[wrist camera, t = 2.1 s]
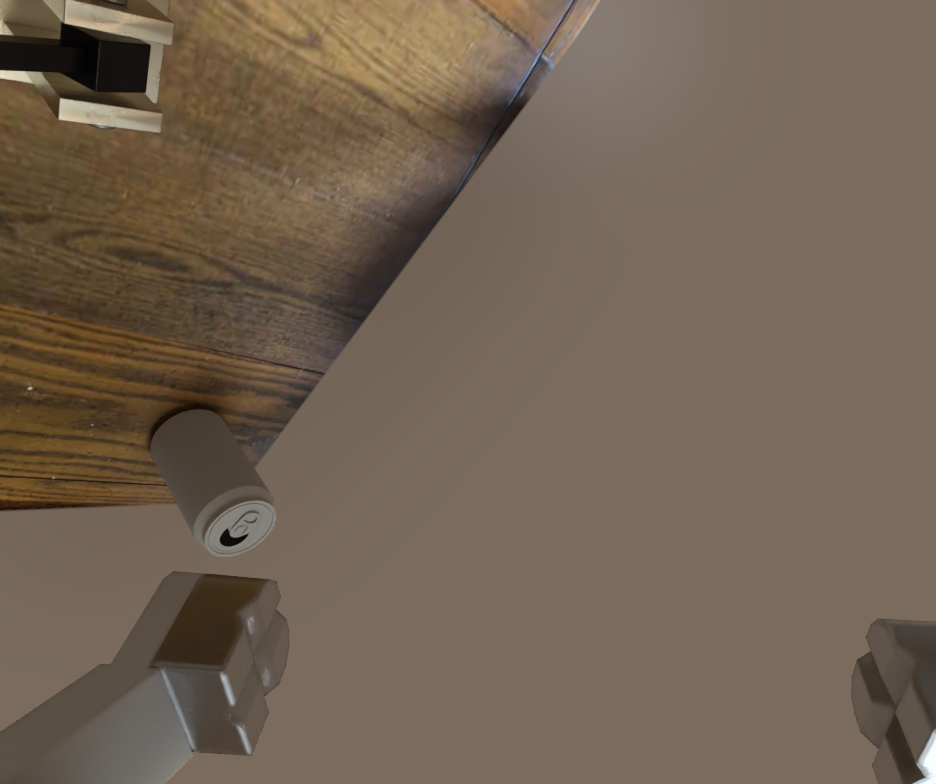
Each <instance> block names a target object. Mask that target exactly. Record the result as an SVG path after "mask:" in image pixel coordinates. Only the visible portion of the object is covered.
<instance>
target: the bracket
mask: <svg viewBox="0 0 936 784" xmlns="http://www.w3.org/2000/svg"><path fill="white" fill-rule="evenodd" d="M169 2H170V0H0V34H2V35H14V36H26V37H39V38H51V39H60V32H61V22H63V23H64V24H68V25H73V26H78V27H83V28H87V29H92V30H97V31H102V32H107V33H111V34H116V35H121V36H126V37H130V38H135V39H140V40H142V41H144V42H146V43H148V44H150V45H151V52H150V60H149V69H148V78H147V87H146V93H119V92H94V91H93V90H91V89H89V88H87V87H85V86H83V85H81V84H80V83H78V82H76V81H74V80H72V79H70V78H68V77H66V76H65V75H63V74H61V73H55V72H29V71H3V70H0V79H5V80H11V81H18V82H24V83H30V84H34V86H35V87H36V88H37V90H38V91H39V93H40V94H41V96H42V97H43V98H44V100H45V101H46V103H47V104H48V106H49V107H50V109H51V110H52V111H53V113H54V114H55V116H56V117H57V119H58V120H62V121H70V122H77V123H85V124H88V125H90V126H93V127H96V128H101V129H114V128H122V129H130V130H137V131H145V132H152V133H161V128H162V120H163V112H162V111H161V110H160V109H159V108H158V107H157V106H156V105H155V104H154V103H157V102H158V93H159V85H160V77H161V69H162V60H163V52H164V45H169V46H172V40H173V32H174V22H172V21H171V20H170V19H169V18H168V11H169Z"/></svg>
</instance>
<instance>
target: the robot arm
mask: <svg viewBox="0 0 936 784" xmlns="http://www.w3.org/2000/svg"><path fill="white" fill-rule="evenodd" d="M280 598H281V596H280V592H279V589H278V586H277V582H276V581H274V580H270V579H259V578H248V577H238V576H226V575H216V574H200V573H189V572H177V571H173V572H172V573H170V574H169V575H168V576H166V577H165V578H164V579H163V580H162V582H161V583H160V585H159V587H158V588H157V590H156V592H155V593H154V595H153V596H152V598H151V600H150V601H149V603H148V605H147V606H146V608H145V610H144V611H143V613H142V615H141V616H140V618H139V619H138V621H137V623H136V624H135V626H134V627H133V629H132V631H131V632H130V634H129V635H128V637H127V639H126V640H125V642H124V644H123V645H122V647H121V649H120V650H119V652H118V653H117V655H116V657H115V658H114V660H113V662H112V663H111V664H100V665H98V666H97V667H95V668H94V669H92V670H91V671H89V672H88V673H87V674H85V675H84V676H82V677H81V678H79V679H78V680H76V681H75V682H73V683H72V684H70V685H69V686H67V687H66V688H64V689H63V690H61V691H60V692H59V693H57V694H56V695H54V696H53V697H51V698H50V699H48V700H47V701H45V702H44V703H42V704H41V705H39V706H38V707H37V708H35V709H33V710H32V711H31V712H29V713H28V714H26V715H25V716H24V717H22V718H20V719H19V720H17V721H16V722H14V723H13V724H11V725H10V726H8V727H7V728H6V729H4V730H3V731H1V732H0V784H165V783H166V782H167V781H168V780H169V779H170V778H171V777H172V776H173V775H174V774H175V773H176V772H177V771H178V770H179V769H180V768H181V767H182V766H183V765H184V764H185V763H186V762H187V761H188V760H189V759H191V757H192V756H193V753H192V752H201V753H216V754H231V755H246V756H252V755H253V752H254V749H255V746H256V744H257V741H258V739H259V736H260V734H261V731H262V729H263V726H264V723H265V721H266V718H267V716H268V713H269V711H268V708H267V704H266V700H265V697H264V696H266V695H267V694H268V693H269V692H270V691H271V690H273V689H274V688H275V687H277V686H278V685H279V684H280V681H281V678H282V675H283V672H284V670H285V667H286V662H287V656H288V651H289V628H288V624H287V619H286V618H285V617H284V616H283V615H282V614H281V613H280V612H278V611H277V610H276V608H277V606H278V603H279V601H280ZM866 639H867V642H868V645H869V647H870V650H871V651H870V652H869V653H867V654H865V655H864V656H862V657H861V658H859V659H857V662H856V665H855V668H854V671H853V674H852V691H851V695H852V696H851V698H852V703H853V708H854V714H855V717H856V720H857V723H858V726H859V729H860V732H861V733H862V734H863V735H864V736H865V737H866V738H867V739H868V740H869V741H870V742H871V743H872V744H874V745H875V746H876V747H877V748H878V749H879V750H878V752H877V755H876V757H875V759H874V762H873V764H872V766H873V769H874V772H875V775H876V778H877V781H878V783H879V784H936V622H933V621H913V620H895V619H877V620H876V621H874V622H873V623H872V624H871V625H870V628H869V630H868V633H867V635H866Z"/></svg>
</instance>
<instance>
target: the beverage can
mask: <svg viewBox="0 0 936 784" xmlns="http://www.w3.org/2000/svg"><path fill="white" fill-rule="evenodd" d="M150 452H151V456H152V458H153V460H154V462H155V464H156V466H157V467H158V469H159V471H160V473H161V475H162V477H163V479H164V481H165V483H166V485H167V486H168V488H169V490H170V492H171V494H172V496H173V498H174V500H175V502H176V504H177V505H178V507H179V509H180V511H181V513H182V515H183V516H184V519H185V520H186V522H187V524H188V526H189V528H190V530H191V532H192V534H193V536H194V538H195V539H196V541H197V542H198V543H199V544H200V545H201V546H203V547H205V548H207V550H208V551H209V552H210V553H211V554H213V555H215V556H220V557H230V556H235V555H239V554H241V553H244V552H247V551H248V550H250V549H252V548H254V547H255V546H257V545H258V544H260V543H261V542H262V541H263V540H264V539H265V538H266V537H267V536H268V535H269V533H270V532H271V530H272V529H273V527H274V525H275V522H276V511H275V509H274V500H273V497H272V495H271V493H270V492H269V490H268V489H267V487H266V486H265V484H264V482H263V481H262V480H261V478H260V476H259V475H258V473H257V472H256V470H255V469H254V467H253V465H252V464H251V462H250V461H249V459H248V458H247V456H246V455H245V453H244V452H243V450H242V448H241V447H240V445H239V444H238V442H237V441H236V439H235V438H234V436H233V435H232V433H231V431H230V430H229V428H228V427H227V425H226V424H225V422H224V421H223V419H222V418H221V417H220V416H219V415H218V414H216V413H214V412H212V411H209V410H203V409H196V410H189V411H185V412H182V413H179V414H177V415H175V416H173V417H171V418H170V419H168V420H167V421H166V422H164V423H163V424H162V425H161V426H160V427H159V428H158V430H157V431H156V432H155V434H154V436H153V438H152V441H151V445H150Z"/></svg>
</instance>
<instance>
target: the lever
mask: <svg viewBox="0 0 936 784" xmlns="http://www.w3.org/2000/svg"><path fill="white" fill-rule="evenodd" d="M150 52H151V45H150V44H148V43H146V42H144V41H142V40H140V39H135V38H130V37H126V36H121V35H116V34H111V33H107V32H102V31H97V30H92V29H87V28H83V27H78V26H73V25H68V24H64V23H63V22H61V32H60V39H51V38H39V37H26V36H14V35H2V34H0V70H3V71H29V72H55V73H61V74H63V75H65V76H66V77H68V78H70V79H72V80H74V81H76V82H78V83H80V84H81V85H83V86H85V87H87V88H89V89H91V90H93V91H94V92H119V93H146V87H147V78H148V69H149V60H150Z"/></svg>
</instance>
